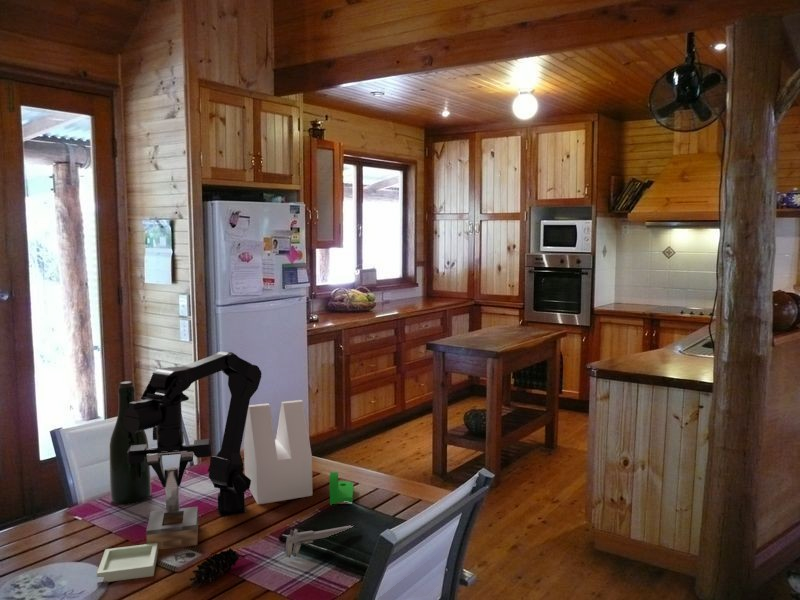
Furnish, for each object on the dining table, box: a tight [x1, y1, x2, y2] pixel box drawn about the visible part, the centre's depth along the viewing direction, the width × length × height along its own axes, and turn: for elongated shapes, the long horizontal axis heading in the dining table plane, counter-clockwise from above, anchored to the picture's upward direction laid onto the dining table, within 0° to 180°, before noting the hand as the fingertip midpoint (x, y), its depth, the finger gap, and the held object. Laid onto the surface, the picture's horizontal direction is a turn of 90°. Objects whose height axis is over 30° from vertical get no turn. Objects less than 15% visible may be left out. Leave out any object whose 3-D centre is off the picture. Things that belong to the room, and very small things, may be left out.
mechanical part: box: [329, 471, 354, 506], centre depth 181 cm, size 12×6×8 cm, turn 2°
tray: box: [96, 543, 159, 583], centre depth 141 cm, size 11×11×2 cm
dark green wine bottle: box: [108, 380, 152, 506], centre depth 178 cm, size 10×10×33 cm
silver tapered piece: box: [164, 466, 180, 513], centre depth 155 cm, size 6×3×10 cm, turn 20°
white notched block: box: [243, 399, 313, 505], centre depth 186 cm, size 19×15×25 cm
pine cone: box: [188, 547, 252, 589], centre depth 139 cm, size 18×5×5 cm
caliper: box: [285, 524, 354, 559], centre depth 151 cm, size 20×1×6 cm, turn 134°
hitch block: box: [145, 505, 199, 551], centre depth 155 cm, size 11×11×5 cm
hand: (171, 486), depth 154 cm, fingers closed on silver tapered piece, 3 cm apart
